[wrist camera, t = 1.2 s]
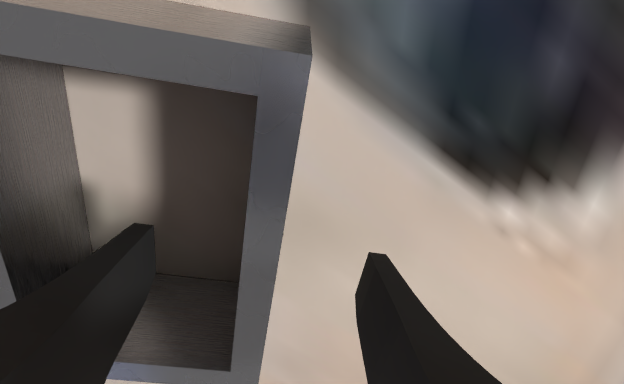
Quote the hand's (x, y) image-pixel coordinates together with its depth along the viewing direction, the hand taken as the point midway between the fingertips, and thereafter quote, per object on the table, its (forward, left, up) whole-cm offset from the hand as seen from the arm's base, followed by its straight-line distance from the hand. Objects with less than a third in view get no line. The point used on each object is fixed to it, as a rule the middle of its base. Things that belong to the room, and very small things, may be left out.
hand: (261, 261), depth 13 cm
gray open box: (0, +4, -5) cm, 7 cm away
